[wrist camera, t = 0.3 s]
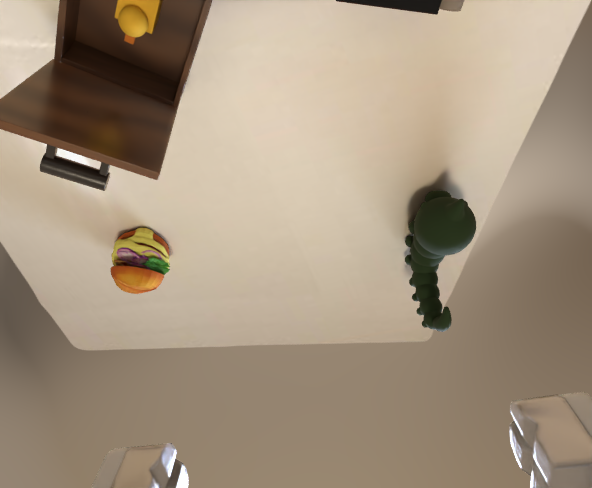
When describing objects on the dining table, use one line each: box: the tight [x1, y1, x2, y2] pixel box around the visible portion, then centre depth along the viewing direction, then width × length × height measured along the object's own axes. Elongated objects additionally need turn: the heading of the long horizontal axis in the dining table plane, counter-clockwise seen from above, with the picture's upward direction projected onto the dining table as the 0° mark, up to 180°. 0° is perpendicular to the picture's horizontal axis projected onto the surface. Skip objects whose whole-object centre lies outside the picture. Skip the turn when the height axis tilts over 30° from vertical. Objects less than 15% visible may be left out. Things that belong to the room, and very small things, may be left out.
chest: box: [54, 0, 212, 108], centre depth 46 cm, size 16×14×6 cm
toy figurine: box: [405, 191, 476, 332], centre depth 70 cm, size 9×19×25 cm
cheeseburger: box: [111, 228, 170, 294], centre depth 75 cm, size 10×11×10 cm
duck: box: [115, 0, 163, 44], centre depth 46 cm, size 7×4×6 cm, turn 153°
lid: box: [0, 59, 178, 191], centre depth 43 cm, size 17×14×5 cm
